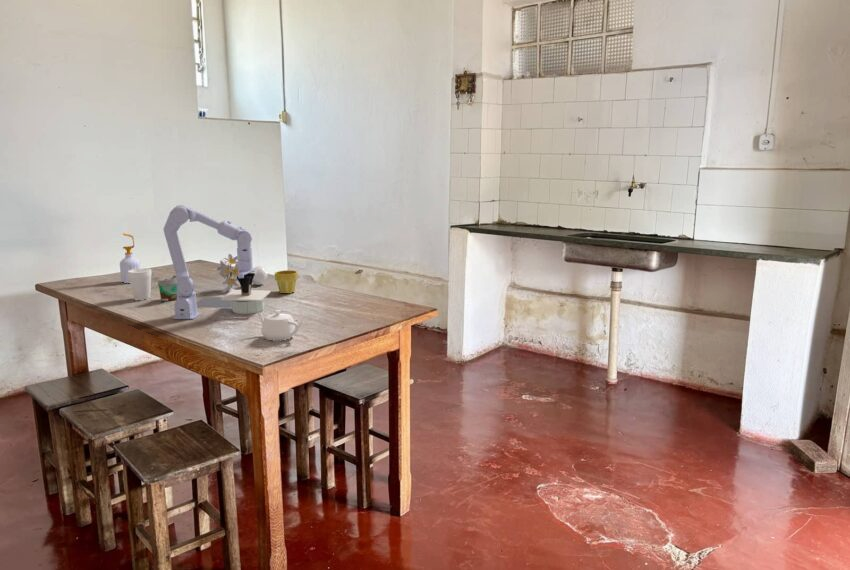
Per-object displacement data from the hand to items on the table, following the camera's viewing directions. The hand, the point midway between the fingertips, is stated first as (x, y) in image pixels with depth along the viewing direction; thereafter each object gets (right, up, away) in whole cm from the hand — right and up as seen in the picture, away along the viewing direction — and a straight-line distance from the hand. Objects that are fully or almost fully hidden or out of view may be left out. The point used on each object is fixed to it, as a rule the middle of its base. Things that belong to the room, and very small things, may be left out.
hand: (246, 291), depth 256 cm
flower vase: (-14, +1, +43) cm, 45 cm away
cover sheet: (0, -2, 0) cm, 2 cm away
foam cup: (-53, -4, +21) cm, 57 cm away
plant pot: (+9, -1, +34) cm, 35 cm away
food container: (-38, -4, +19) cm, 43 cm away
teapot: (+21, -16, -33) cm, 43 cm away
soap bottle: (-74, +4, +56) cm, 93 cm away
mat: (-17, -5, +14) cm, 23 cm away
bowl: (0, -8, +2) cm, 8 cm away
